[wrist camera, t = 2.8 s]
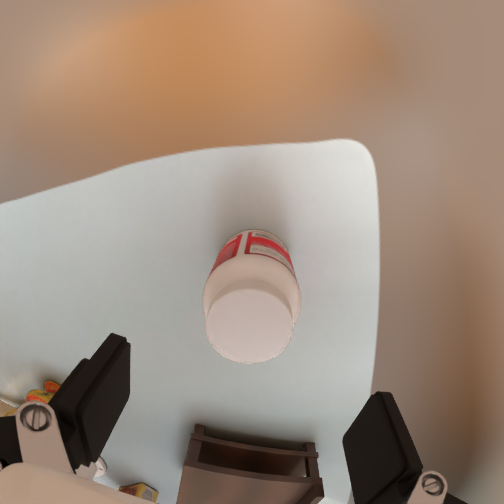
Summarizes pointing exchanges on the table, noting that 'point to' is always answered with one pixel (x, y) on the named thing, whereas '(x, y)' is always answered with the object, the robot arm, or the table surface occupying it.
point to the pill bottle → (251, 298)
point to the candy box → (140, 492)
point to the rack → (248, 473)
